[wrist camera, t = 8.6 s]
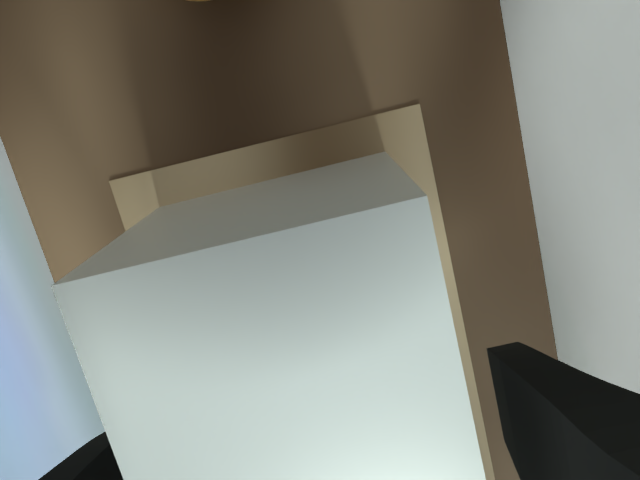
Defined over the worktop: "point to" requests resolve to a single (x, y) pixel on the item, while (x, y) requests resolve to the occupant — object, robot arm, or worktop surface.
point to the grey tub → (278, 335)
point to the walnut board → (283, 133)
